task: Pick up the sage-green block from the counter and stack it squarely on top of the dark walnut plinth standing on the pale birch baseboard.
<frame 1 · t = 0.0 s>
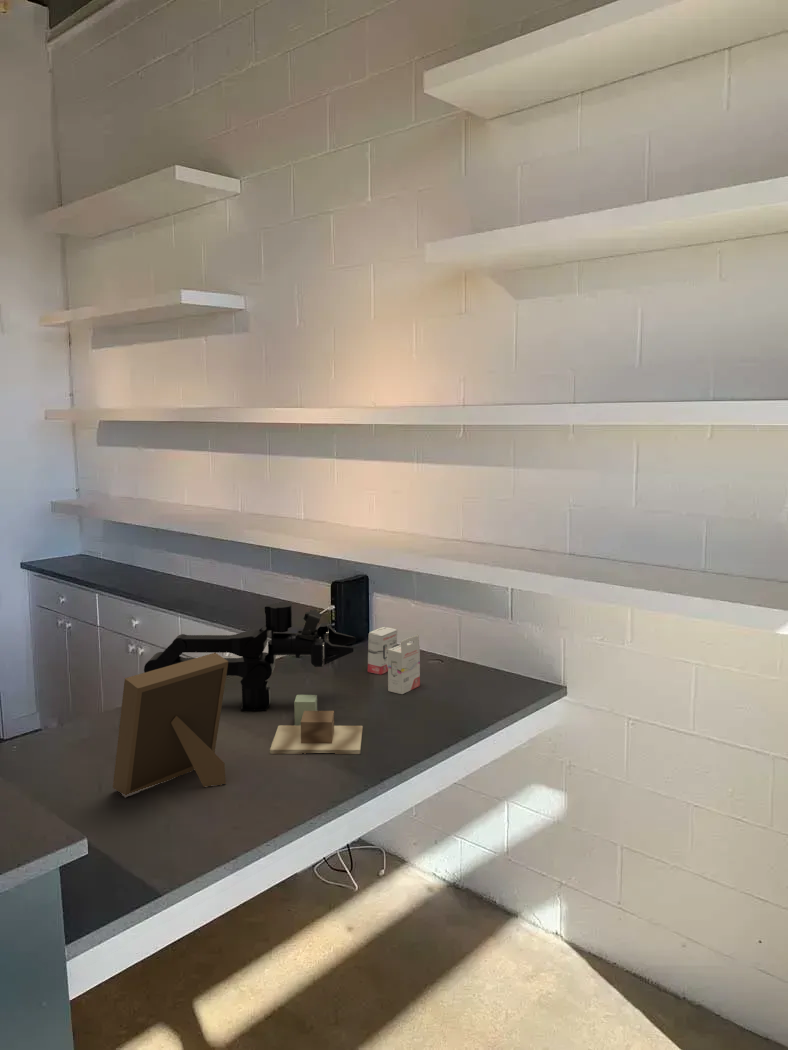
hand: (354, 644, 214), 17 cm above the table, tool horizontal, fingers open, 9 cm apart
ink box: (382, 670, 246), on the table
sage block: (306, 722, 207), on the table
base plate: (317, 741, 195), on the table
photo frame: (180, 785, 173), on the table
ink cartridge box: (403, 689, 231), on the table
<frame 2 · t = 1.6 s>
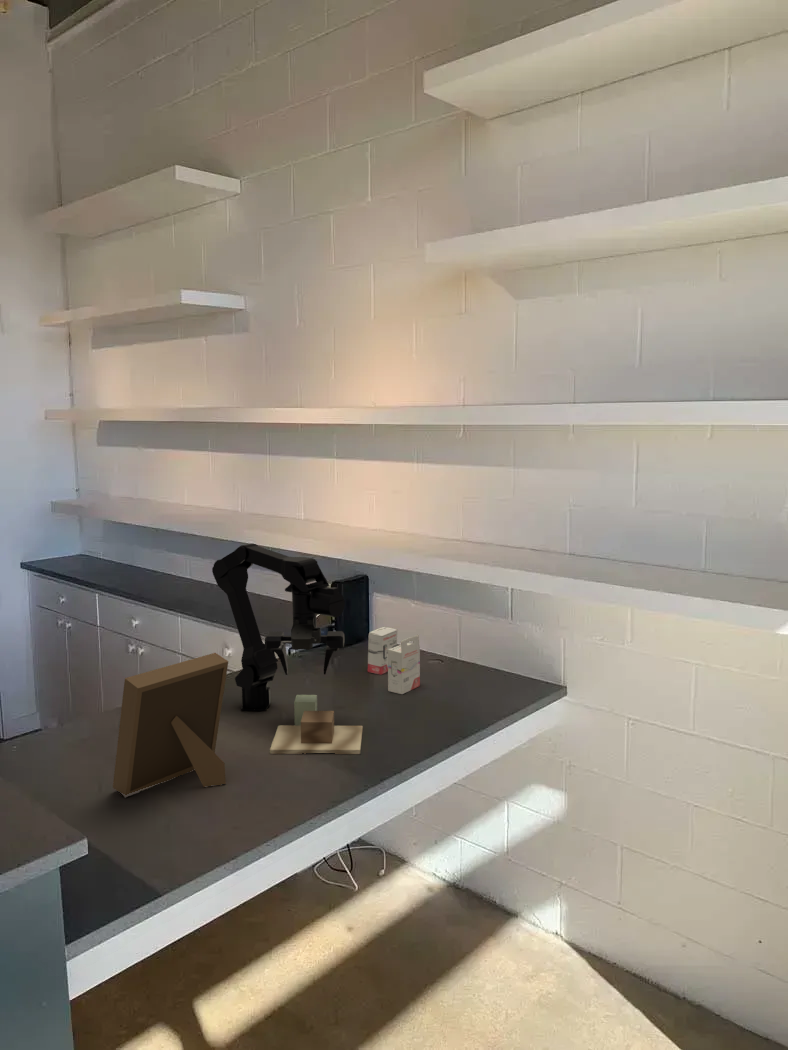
hand: (305, 674, 205), 12 cm above the table, tool pointing down, fingers open, 9 cm apart
nothing on the table moved.
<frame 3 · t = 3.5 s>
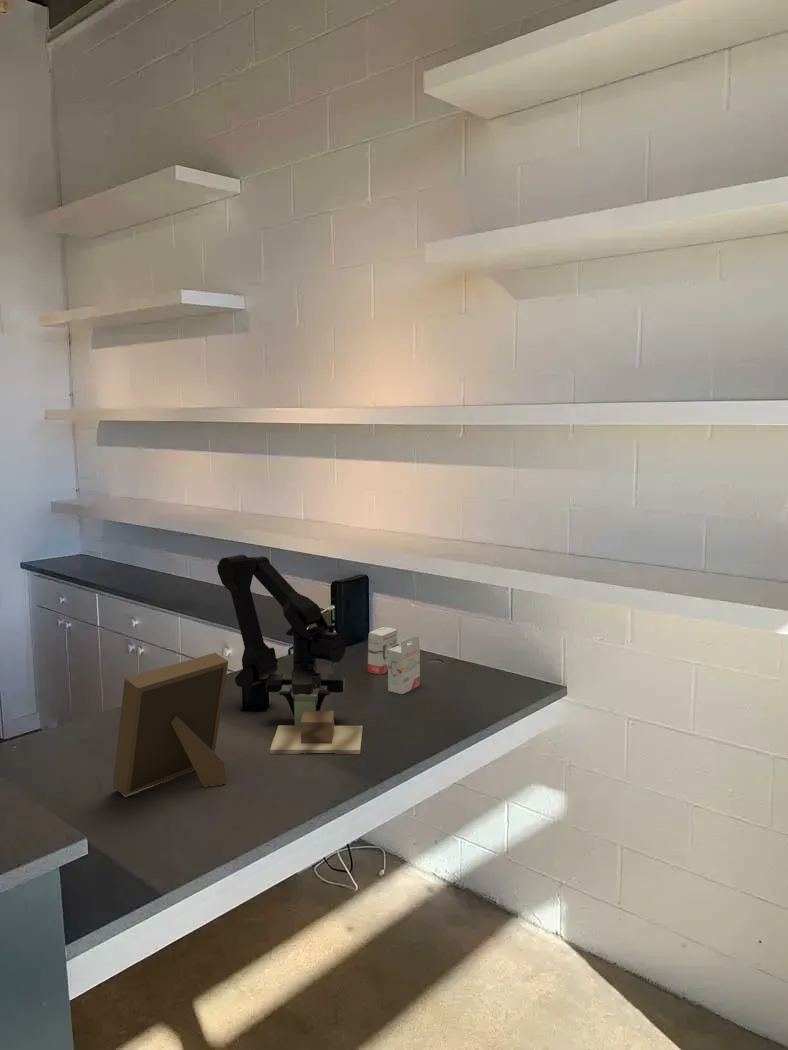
hand: (306, 716, 207), 1 cm above the table, tool pointing down, fingers closed on sage block, 5 cm apart
sage block: (306, 721, 207), on the table, touching gripper
everything else where it was.
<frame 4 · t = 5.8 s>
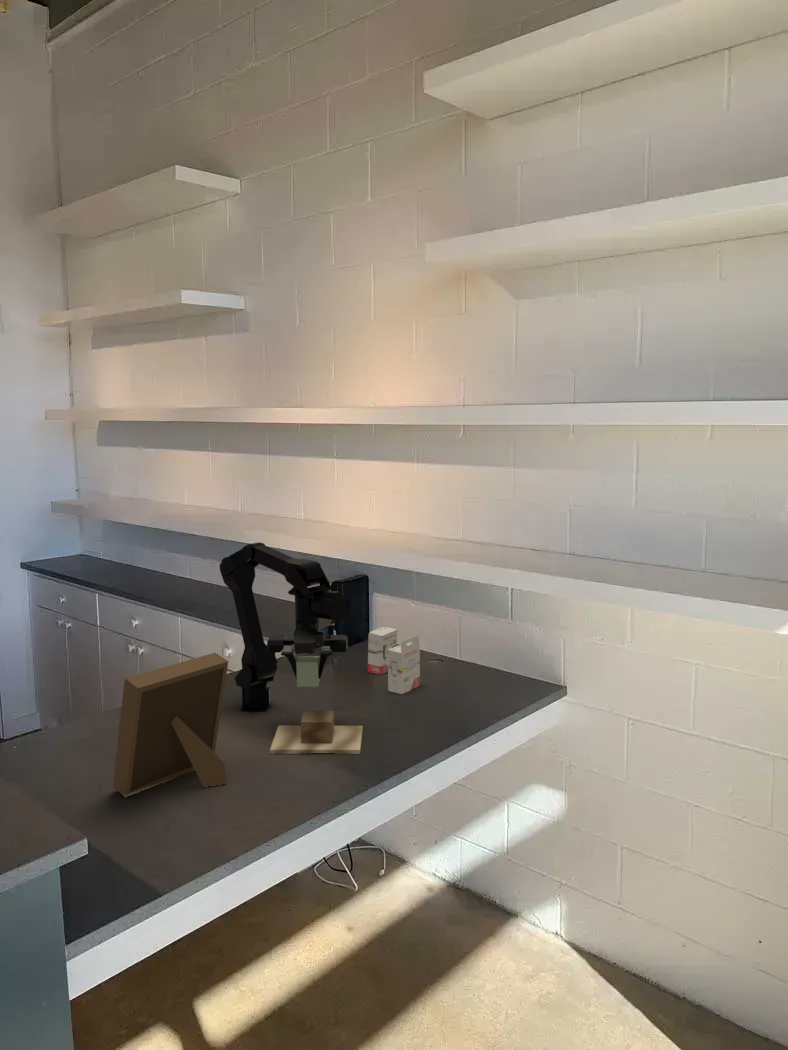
hand: (308, 678, 203), 12 cm above the table, tool pointing down, fingers closed on sage block, 5 cm apart
sage block: (308, 683, 203), point 11 cm above the table, touching gripper
everything else where it was.
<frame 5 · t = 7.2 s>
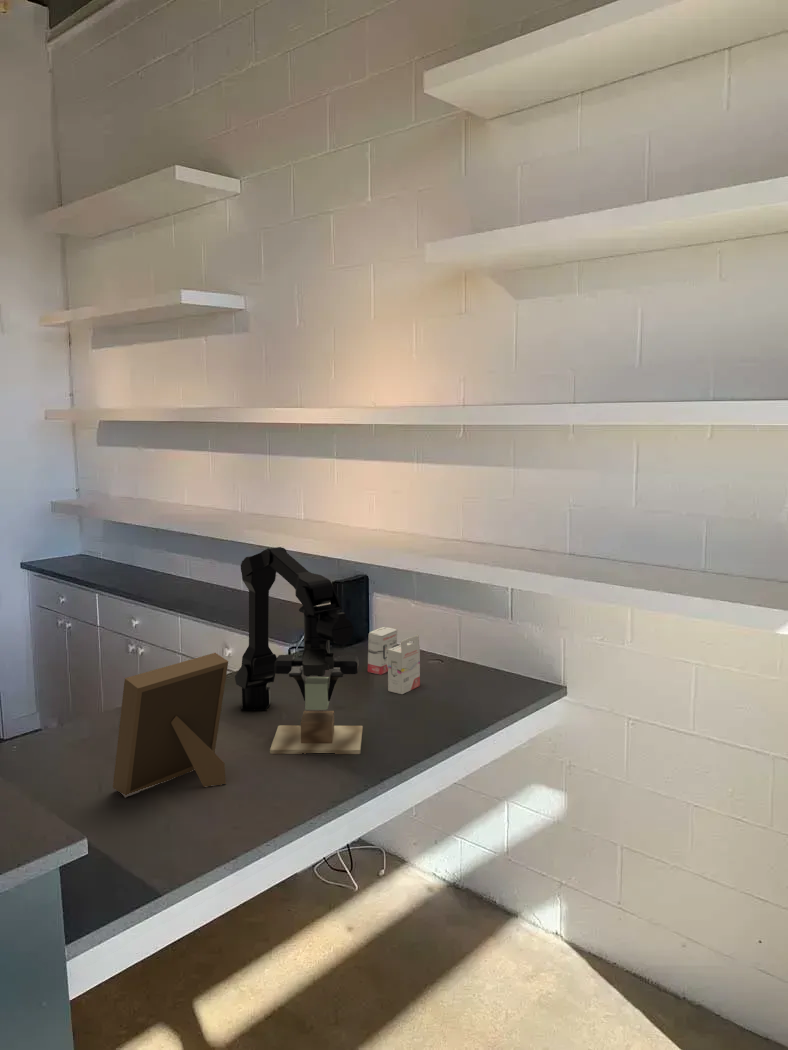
hand: (317, 700, 194), 10 cm above the table, tool pointing down, fingers closed on sage block, 5 cm apart
sage block: (317, 705, 194), point 9 cm above the table, touching gripper
everything else where it was.
when the fingers open (8 cm above the table, at t = 8.3 s): sage block drops 1 cm, resting on base plate.
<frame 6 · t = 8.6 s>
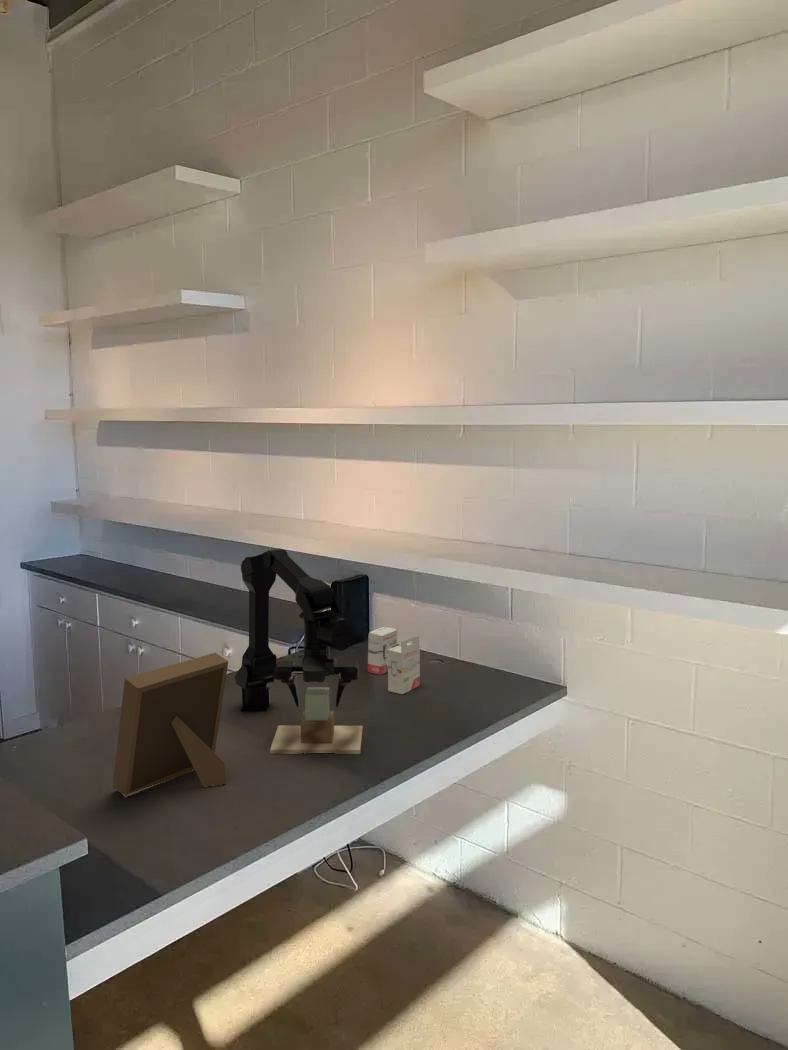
hand: (317, 706, 194), 8 cm above the table, tool pointing down, fingers open, 9 cm apart
sage block: (317, 716, 194), point 6 cm above the table, touching base plate
everything else where it was.
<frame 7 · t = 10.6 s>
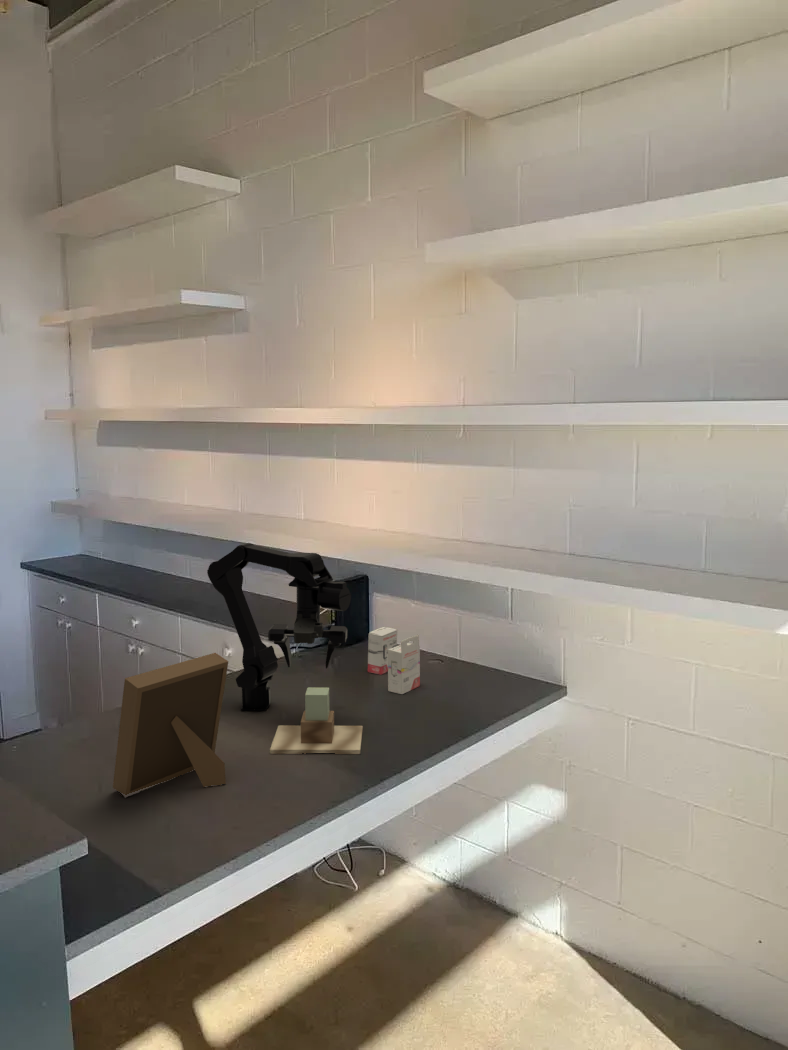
hand: (308, 667, 208), 13 cm above the table, tool pointing down, fingers open, 9 cm apart
nothing on the table moved.
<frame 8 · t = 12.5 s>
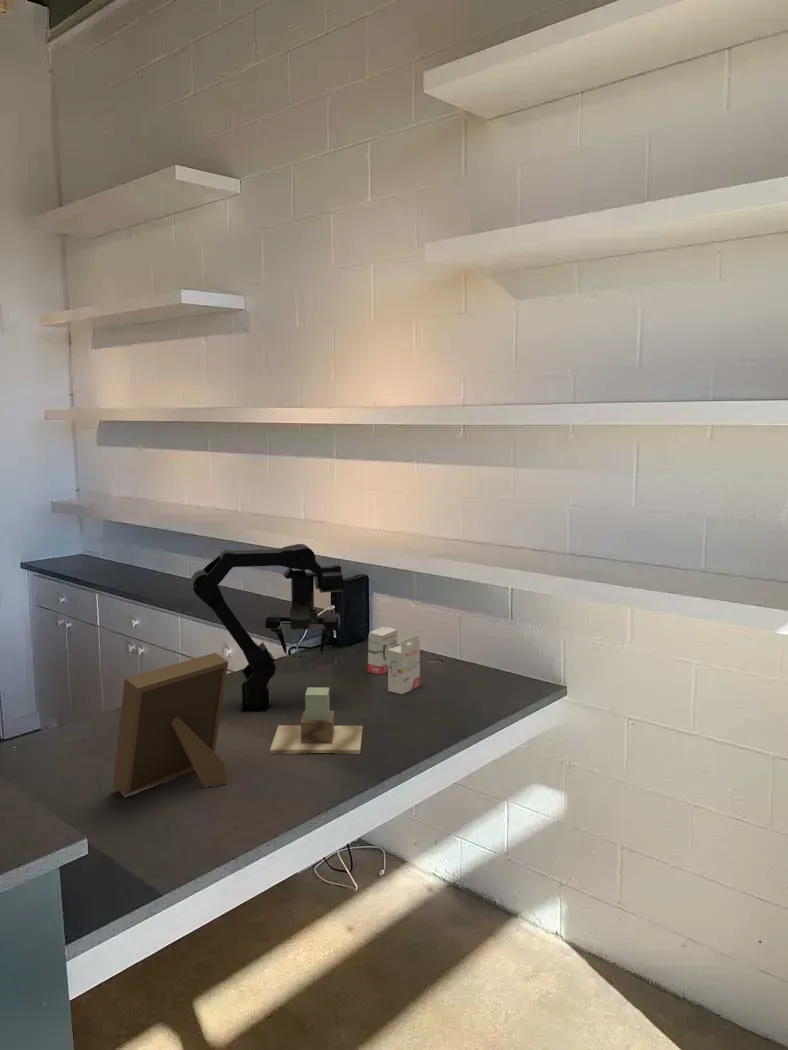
hand: (303, 653, 219), 13 cm above the table, tool pointing down, fingers open, 9 cm apart
nothing on the table moved.
at the end: sage block 0.0 cm off-centre on the base plate, point 6.0 cm above the base plate's base; sage block tilted 0°; the gripper is holding nothing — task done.
